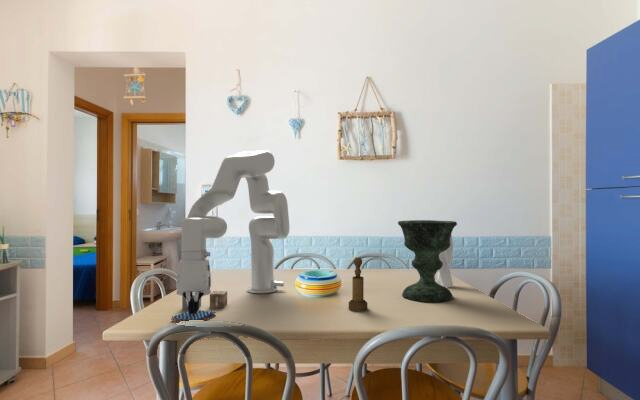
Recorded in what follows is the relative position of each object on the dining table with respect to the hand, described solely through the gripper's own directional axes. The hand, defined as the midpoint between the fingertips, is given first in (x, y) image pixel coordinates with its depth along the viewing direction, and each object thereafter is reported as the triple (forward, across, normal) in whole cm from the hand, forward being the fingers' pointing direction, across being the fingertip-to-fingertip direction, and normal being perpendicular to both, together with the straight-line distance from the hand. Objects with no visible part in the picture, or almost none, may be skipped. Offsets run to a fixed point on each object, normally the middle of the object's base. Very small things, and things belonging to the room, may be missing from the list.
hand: (193, 312), depth 122 cm
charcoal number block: (+2, +5, -13) cm, 14 cm away
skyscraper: (+2, -96, -48) cm, 107 cm away
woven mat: (+3, 0, 0) cm, 3 cm away
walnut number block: (+2, -4, -15) cm, 16 cm away
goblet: (+2, -83, -28) cm, 88 cm away
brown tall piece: (+2, -54, -11) cm, 55 cm away
